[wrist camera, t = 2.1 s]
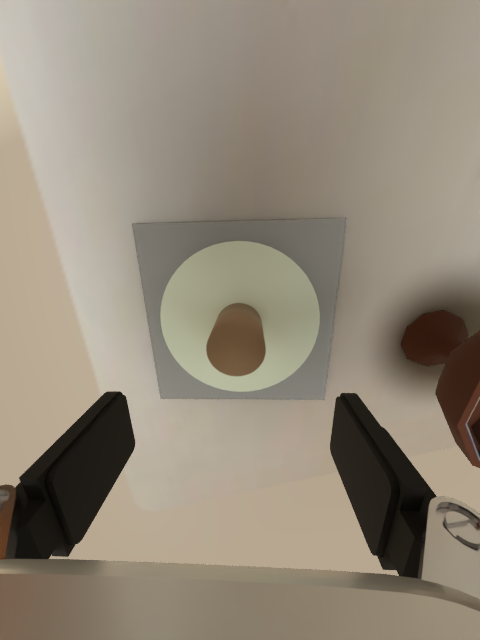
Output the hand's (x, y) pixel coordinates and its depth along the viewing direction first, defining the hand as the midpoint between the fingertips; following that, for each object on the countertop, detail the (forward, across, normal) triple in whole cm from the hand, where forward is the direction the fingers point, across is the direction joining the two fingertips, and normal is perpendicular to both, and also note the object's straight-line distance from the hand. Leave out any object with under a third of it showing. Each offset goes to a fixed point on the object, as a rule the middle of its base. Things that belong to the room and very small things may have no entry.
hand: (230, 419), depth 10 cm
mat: (+12, 0, -1) cm, 12 cm away
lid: (+11, 0, -1) cm, 11 cm away
